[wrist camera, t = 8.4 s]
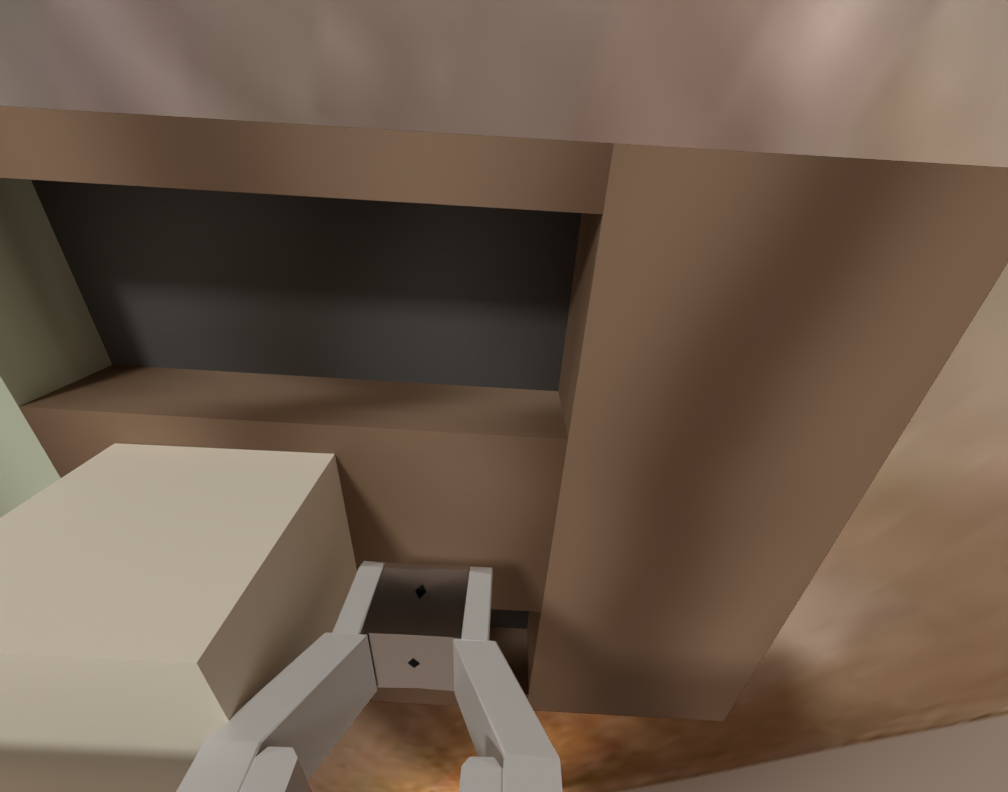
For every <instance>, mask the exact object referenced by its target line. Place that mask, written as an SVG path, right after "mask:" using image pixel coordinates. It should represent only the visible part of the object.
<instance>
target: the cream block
mask: <svg viewBox="0 0 1008 792" xmlns="http://www.w3.org/2000/svg"><path fill="white" fill-rule="evenodd" d="M356 573H357V568H356V563H355V558H354V552H353V547H352V542H351V536H350V531H349V526H348V521H347V515H346V510H345V505H344V500H343V494H342V489H341V484H340V478H339V473H338V468H337V463H336V457H335V454H328V453H307V452H286V451H266V450H245V449H224V448H203V447H182V446H161V445H141V444H120V443H114V444H113V445H111V446H110V447H108V448H107V449H105V450H104V451H102V452H101V453H99V454H97V455H96V456H94V457H93V458H91V459H90V460H88V461H87V462H85V463H84V464H82V465H81V466H79V467H78V468H76V469H74V470H73V471H71V472H70V473H68V474H67V475H65V476H64V477H62V478H61V479H59V480H58V481H56V482H55V483H53V484H51V485H50V486H48V487H47V488H45V489H44V490H42V491H41V492H39V493H38V494H36V495H35V496H33V497H31V498H30V499H28V500H27V501H25V502H24V503H22V504H21V505H19V506H18V507H16V508H15V509H13V510H12V511H10V512H8V513H7V514H5V515H4V516H2V517H1V518H0V792H176V791H177V789H178V787H179V786H180V784H181V782H182V780H183V779H184V777H185V775H186V773H187V771H188V770H189V768H190V766H191V764H192V763H193V761H194V759H195V757H196V755H197V754H198V752H199V750H200V748H201V746H202V745H203V743H204V741H205V740H206V739H207V738H208V737H209V736H210V735H211V734H212V733H214V732H215V731H216V730H217V729H218V728H219V727H220V726H221V725H222V724H224V723H225V722H226V721H229V720H230V718H231V717H232V715H234V714H235V713H236V712H237V711H238V710H239V709H240V708H241V707H243V706H244V705H245V704H246V703H247V702H248V701H249V700H250V699H251V698H253V697H254V696H255V695H256V694H257V693H258V692H259V691H260V690H261V689H263V688H264V687H265V686H266V685H267V684H268V683H269V682H270V681H271V680H273V679H274V678H275V677H276V676H277V675H278V674H279V673H280V672H282V671H283V670H284V669H285V668H286V667H287V666H288V665H289V664H290V663H292V662H293V661H294V660H295V659H296V658H297V657H298V656H299V655H300V654H302V653H303V652H304V651H305V650H306V649H307V648H308V647H309V646H310V645H312V644H313V643H314V642H315V641H316V640H317V639H318V638H319V637H321V636H322V635H323V634H324V633H325V632H331V633H332V632H333V629H334V627H335V625H336V622H337V620H338V617H339V615H340V612H341V610H342V607H343V605H344V603H345V600H346V598H347V595H348V593H349V590H350V588H351V585H352V583H353V581H354V578H355V576H356Z"/></svg>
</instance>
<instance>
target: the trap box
mask: <svg viewBox="0 0 1008 792" xmlns="http://www.w3.org/2000/svg"><path fill="white" fill-rule="evenodd" d="M1007 263H1008V168H1006V167H989V166H973V165H957V164H940V163H924V162H908V161H891V160H875V159H859V158H842V157H826V156H810V155H793V154H777V153H761V152H744V151H728V150H712V149H695V148H679V147H663V146H646V145H630V144H614V143H597V142H581V141H565V140H548V139H532V138H516V137H499V136H483V135H467V134H450V133H434V132H418V131H401V130H385V129H369V128H352V127H336V126H320V125H303V124H287V123H271V122H254V121H238V120H222V119H205V118H189V117H173V116H156V115H140V114H124V113H107V112H91V111H75V110H58V109H42V108H26V107H9V106H0V518H1V517H2V516H4V515H5V514H7V513H8V512H10V511H12V510H13V509H15V508H16V507H18V506H19V505H21V504H22V503H24V502H25V501H27V500H28V499H30V498H31V497H33V496H35V495H36V494H38V493H39V492H41V491H42V490H44V489H45V488H47V487H48V486H50V485H51V484H53V483H55V482H56V481H58V480H59V479H61V478H62V477H64V476H65V475H67V474H68V473H70V472H71V471H73V470H74V469H76V468H78V467H79V466H81V465H82V464H84V463H85V462H87V461H88V460H90V459H91V458H93V457H94V456H96V455H97V454H99V453H101V452H102V451H104V450H105V449H107V448H108V447H110V446H111V445H113V444H114V443H120V444H141V445H161V446H182V447H203V448H224V449H245V450H266V451H286V452H307V453H328V454H335V457H336V463H337V468H338V473H339V478H340V484H341V489H342V494H343V500H344V505H345V510H346V515H347V521H348V526H349V531H350V536H351V542H352V547H353V552H354V558H355V563H356V568H357V571H358V568H359V567H360V565H361V564H362V563H363V561H375V562H390V563H403V564H416V565H427V564H429V565H458V566H470V567H492V568H493V577H492V599H491V620H490V639H489V640H491V641H496V642H497V644H498V646H499V647H500V649H501V651H502V653H503V655H504V657H505V658H506V660H507V662H508V664H509V666H510V668H511V670H512V671H513V673H514V675H515V677H516V679H517V681H518V682H519V684H520V686H521V688H522V690H523V692H524V693H525V695H526V697H527V699H528V701H529V703H530V705H531V706H532V708H533V710H535V711H553V712H570V713H588V714H605V715H623V716H640V717H658V718H675V719H693V720H710V721H724V720H725V718H726V717H727V715H728V714H729V712H730V710H731V709H732V707H733V706H734V704H735V702H736V701H737V699H738V697H739V696H740V694H741V693H742V691H743V689H744V688H745V686H746V685H747V683H748V681H749V680H750V678H751V676H752V675H753V673H754V672H755V670H756V668H757V667H758V665H759V664H760V662H761V660H762V659H763V657H764V655H765V654H766V652H767V651H768V649H769V647H770V646H771V644H772V643H773V641H774V639H775V638H776V636H777V634H778V633H779V631H780V630H781V628H782V626H783V625H784V623H785V622H786V620H787V618H788V617H789V615H790V613H791V612H792V610H793V609H794V607H795V605H796V604H797V602H798V601H799V599H800V597H801V596H802V594H803V592H804V591H805V589H806V588H807V586H808V584H809V583H810V581H811V580H812V578H813V576H814V575H815V573H816V572H817V570H818V568H819V567H820V565H821V563H822V562H823V560H824V559H825V557H826V555H827V554H828V552H829V551H830V549H831V547H832V546H833V544H834V542H835V541H836V539H837V538H838V536H839V534H840V533H841V531H842V530H843V528H844V526H845V525H846V523H847V521H848V520H849V518H850V517H851V515H852V513H853V512H854V510H855V509H856V507H857V505H858V504H859V502H860V500H861V499H862V497H863V496H864V494H865V492H866V491H867V489H868V488H869V486H870V484H871V483H872V481H873V479H874V478H875V476H876V475H877V473H878V471H879V470H880V468H881V467H882V465H883V463H884V462H885V460H886V458H887V457H888V455H889V454H890V452H891V450H892V449H893V447H894V446H895V444H896V442H897V441H898V439H899V437H900V436H901V434H902V433H903V431H904V429H905V428H906V426H907V425H908V423H909V421H910V420H911V418H912V417H913V415H914V413H915V412H916V410H917V408H918V407H919V405H920V404H921V402H922V400H923V399H924V397H925V396H926V394H927V392H928V391H929V389H930V387H931V386H932V384H933V383H934V381H935V379H936V378H937V376H938V375H939V373H940V371H941V370H942V368H943V366H944V365H945V363H946V362H947V360H948V358H949V357H950V355H951V354H952V352H953V350H954V349H955V347H956V345H957V344H958V342H959V341H960V339H961V337H962V336H963V334H964V333H965V331H966V329H967V328H968V326H969V324H970V323H971V321H972V320H973V318H974V316H975V315H976V313H977V312H978V310H979V308H980V307H981V305H982V303H983V302H984V300H985V299H986V297H987V295H988V294H989V292H990V291H991V289H992V287H993V286H994V284H995V282H996V281H997V279H998V278H999V276H1000V274H1001V273H1002V271H1003V270H1004V268H1005V266H1006V265H1007ZM370 701H378V702H395V703H413V704H430V705H448V706H459V704H458V702H457V699H456V696H455V692H454V691H446V690H434V689H421V688H384V687H377V692H376V693H375V694H374V695H373V697H372V698H371V699H370Z"/></svg>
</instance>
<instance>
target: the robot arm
mask: <svg viewBox="0 0 1008 792" xmlns="http://www.w3.org/2000/svg"><path fill="white" fill-rule="evenodd" d="M492 577H493V568H492V567H470V566H458V565H429V564H427V565H416V564H403V563H390V562H375V561H363V563H362V564H361V565H360V567H359V568H358V571H357V573H356V576H355V578H354V581H353V583H352V585H351V588H350V590H349V593H348V595H347V598H346V600H345V603H344V605H343V607H342V610H341V612H340V615H339V617H338V620H337V622H336V625H335V627H334V629H333V632H332V633H331V632H325V633H324V634H323V635H322V636H321V637H319V638H318V639H317V640H316V641H315V642H314V643H313V644H312V645H310V646H309V647H308V648H307V649H306V650H305V651H304V652H303V653H302V654H300V655H299V656H298V657H297V658H296V659H295V660H294V661H293V662H292V663H290V664H289V665H288V666H287V667H286V668H285V669H284V670H283V671H282V672H280V673H279V674H278V675H277V676H276V677H275V678H274V679H273V680H271V681H270V682H269V683H268V684H267V685H266V686H265V687H264V688H263V689H261V690H260V691H259V692H258V693H257V694H256V695H255V696H254V697H253V698H251V699H250V700H249V701H248V702H247V703H246V704H245V705H244V706H243V707H241V708H240V709H239V710H238V711H237V712H236V713H235V714H234V715H232V717H231V718H230V720H229V721H226V722H225V723H224V724H222V725H221V726H220V727H219V728H218V729H217V730H216V731H215V732H214V733H212V734H211V735H210V736H209V737H208V738H207V739H206V740H205V741H204V743H203V745H202V746H201V748H200V750H199V752H198V754H197V755H196V757H195V759H194V761H193V763H192V764H191V766H190V768H189V770H188V771H187V773H186V775H185V777H184V779H183V780H182V782H181V784H180V786H179V787H178V789H177V791H176V792H312V790H311V788H310V786H309V783H308V780H309V779H310V777H311V776H312V775H313V773H314V772H315V771H316V769H317V768H318V767H319V766H320V764H321V763H322V762H323V760H324V759H325V758H326V756H327V755H328V754H329V753H330V751H331V750H332V749H333V747H334V746H335V745H336V743H337V742H338V741H339V740H340V738H341V737H342V736H343V734H344V733H345V732H346V730H347V729H348V728H349V727H350V725H351V724H352V723H353V721H354V720H355V719H356V718H357V716H358V715H359V714H360V712H361V711H362V710H363V708H364V707H365V706H366V705H367V703H368V702H369V701H370V699H371V698H372V697H373V695H374V694H375V693H376V692H377V687H384V688H421V689H434V690H446V691H454V692H455V696H456V699H457V702H458V704H459V707H460V710H461V713H462V715H463V718H464V721H465V723H466V726H467V729H468V732H469V734H470V737H471V740H472V742H473V745H474V748H475V751H476V753H477V756H478V757H469V758H468V759H467V760H466V761H465V763H464V764H463V765H462V766H461V776H460V786H459V792H563V790H562V778H561V765H560V758H559V756H558V754H557V752H556V751H555V749H554V747H553V745H552V743H551V741H550V739H549V738H548V736H547V734H546V732H545V730H544V728H543V727H542V725H541V723H540V721H539V719H538V717H537V716H536V714H535V712H534V710H533V708H532V706H531V705H530V703H529V701H528V699H527V697H526V695H525V693H524V692H523V690H522V688H521V686H520V684H519V682H518V681H517V679H516V677H515V675H514V673H513V671H512V670H511V668H510V666H509V664H508V662H507V660H506V658H505V657H504V655H503V653H502V651H501V649H500V647H499V646H498V644H497V642H496V641H491V640H489V639H490V620H491V599H492Z"/></svg>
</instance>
